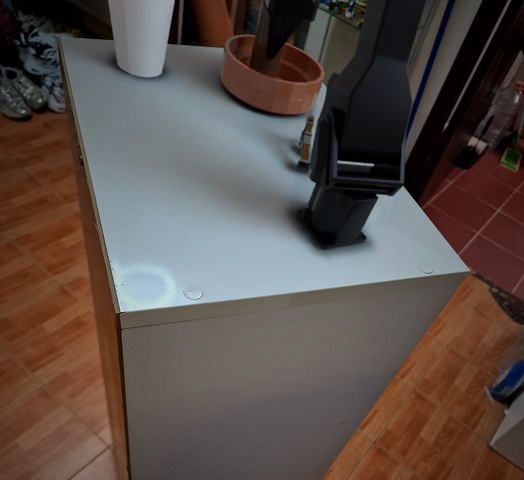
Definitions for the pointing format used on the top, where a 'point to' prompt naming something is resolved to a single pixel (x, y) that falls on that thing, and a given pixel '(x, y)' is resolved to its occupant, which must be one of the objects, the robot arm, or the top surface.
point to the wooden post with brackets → (305, 144)
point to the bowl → (267, 88)
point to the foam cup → (141, 34)
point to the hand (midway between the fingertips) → (267, 51)
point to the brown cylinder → (263, 48)
